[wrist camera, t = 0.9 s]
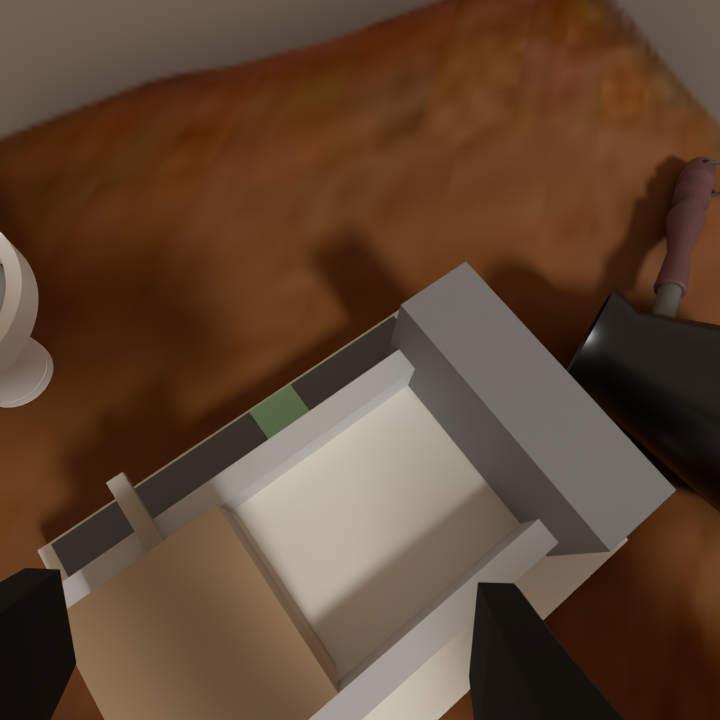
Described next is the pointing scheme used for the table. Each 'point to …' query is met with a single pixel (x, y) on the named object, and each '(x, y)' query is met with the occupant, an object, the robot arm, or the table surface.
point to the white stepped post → (19, 332)
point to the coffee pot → (663, 354)
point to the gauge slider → (198, 629)
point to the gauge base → (405, 494)
